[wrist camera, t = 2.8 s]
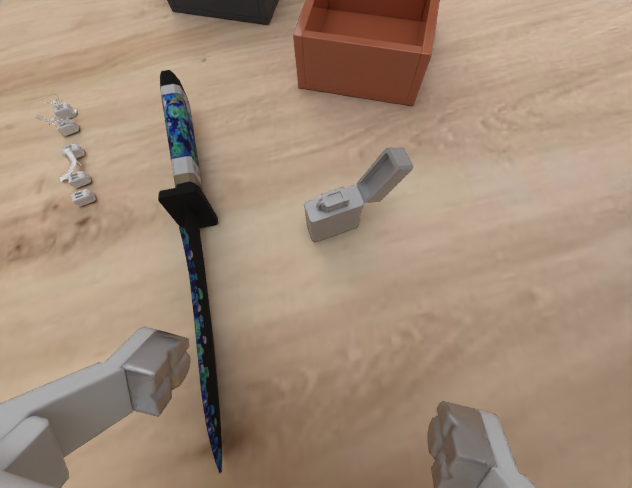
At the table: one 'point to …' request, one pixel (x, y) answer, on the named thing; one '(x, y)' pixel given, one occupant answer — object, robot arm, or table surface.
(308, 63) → the terracotta bin
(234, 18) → the grey bin
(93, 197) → the figurines set
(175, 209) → the knife
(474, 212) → the table surface
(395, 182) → the lighter
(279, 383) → the table surface
